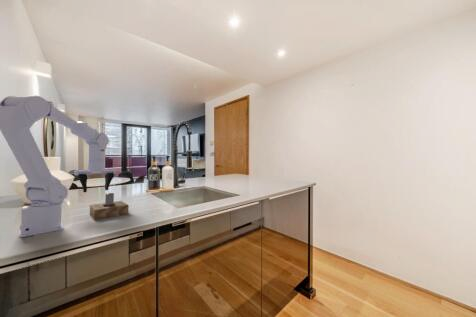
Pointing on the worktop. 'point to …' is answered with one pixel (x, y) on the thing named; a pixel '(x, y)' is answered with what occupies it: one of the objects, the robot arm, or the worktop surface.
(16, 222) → the worktop surface
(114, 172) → the robot arm
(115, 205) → the hole block
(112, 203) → the peg
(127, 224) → the worktop surface
